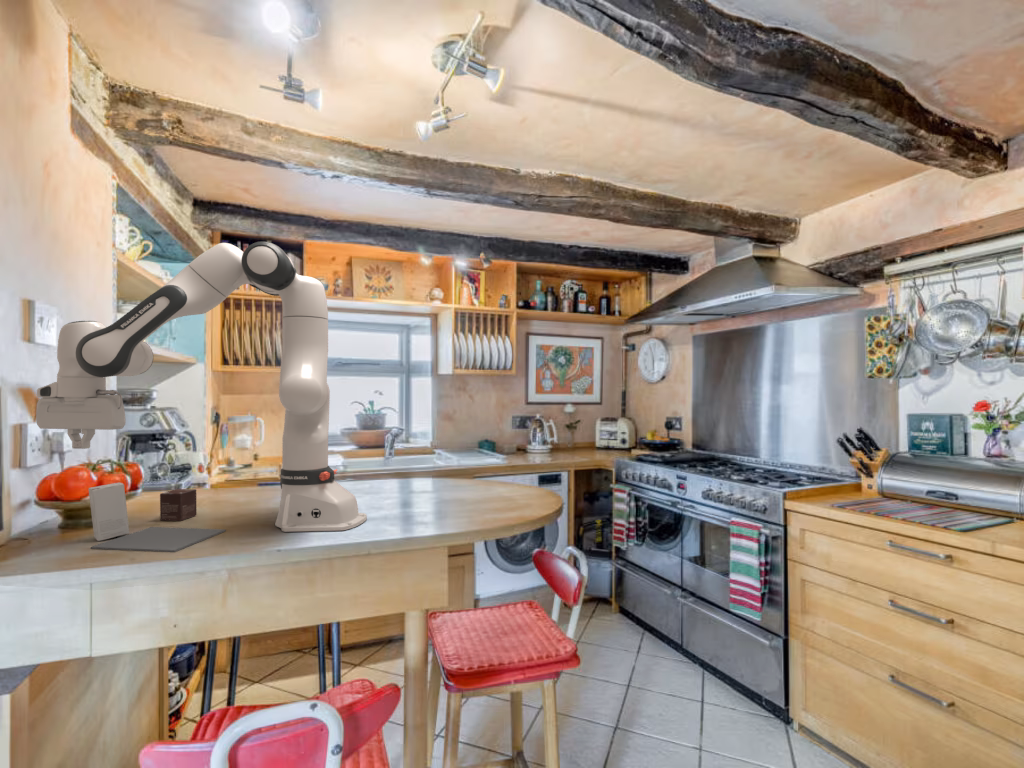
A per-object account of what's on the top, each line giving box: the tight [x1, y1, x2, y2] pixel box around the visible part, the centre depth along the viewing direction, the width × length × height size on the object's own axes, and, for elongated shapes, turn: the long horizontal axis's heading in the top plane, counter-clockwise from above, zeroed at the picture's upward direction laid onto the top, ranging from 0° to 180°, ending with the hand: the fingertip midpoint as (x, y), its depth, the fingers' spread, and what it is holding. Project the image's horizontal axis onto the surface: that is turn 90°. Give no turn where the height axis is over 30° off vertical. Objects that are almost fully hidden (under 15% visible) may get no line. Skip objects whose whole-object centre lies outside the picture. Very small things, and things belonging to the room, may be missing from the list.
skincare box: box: [88, 482, 130, 542], centre depth 118 cm, size 6×4×12 cm
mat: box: [90, 526, 227, 553], centre depth 117 cm, size 20×16×1 cm
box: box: [159, 488, 198, 522], centre depth 136 cm, size 6×6×7 cm
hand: (81, 448), depth 119 cm, fingers closed
